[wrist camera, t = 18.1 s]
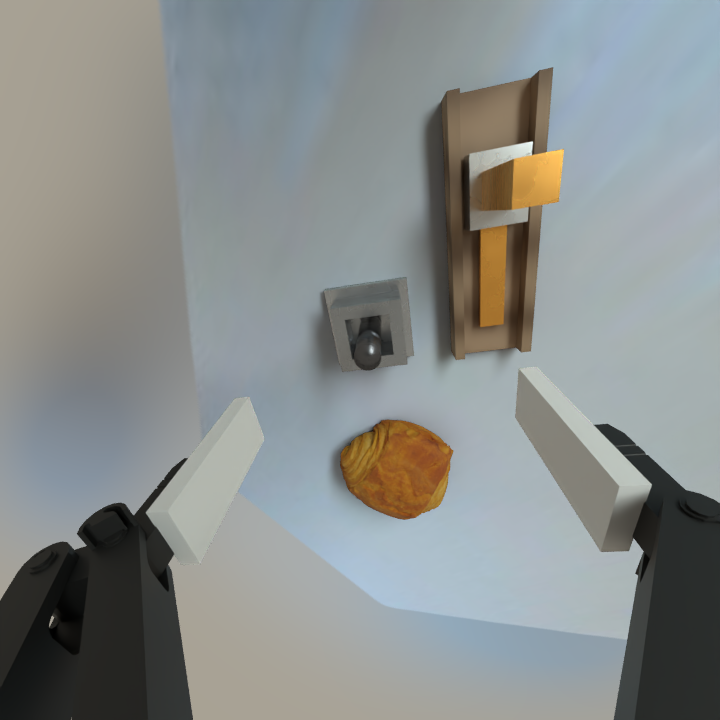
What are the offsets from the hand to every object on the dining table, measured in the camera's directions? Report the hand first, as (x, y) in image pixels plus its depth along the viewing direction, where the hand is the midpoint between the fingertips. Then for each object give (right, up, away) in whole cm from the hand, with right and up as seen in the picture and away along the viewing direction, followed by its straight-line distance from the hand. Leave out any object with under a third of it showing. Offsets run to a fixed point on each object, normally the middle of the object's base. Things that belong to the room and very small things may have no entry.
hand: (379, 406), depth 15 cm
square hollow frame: (0, +6, +20) cm, 21 cm away
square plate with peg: (0, +7, +21) cm, 22 cm away
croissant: (+5, -12, +29) cm, 32 cm away
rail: (+12, +15, +16) cm, 25 cm away
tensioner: (+12, +13, +15) cm, 24 cm away
